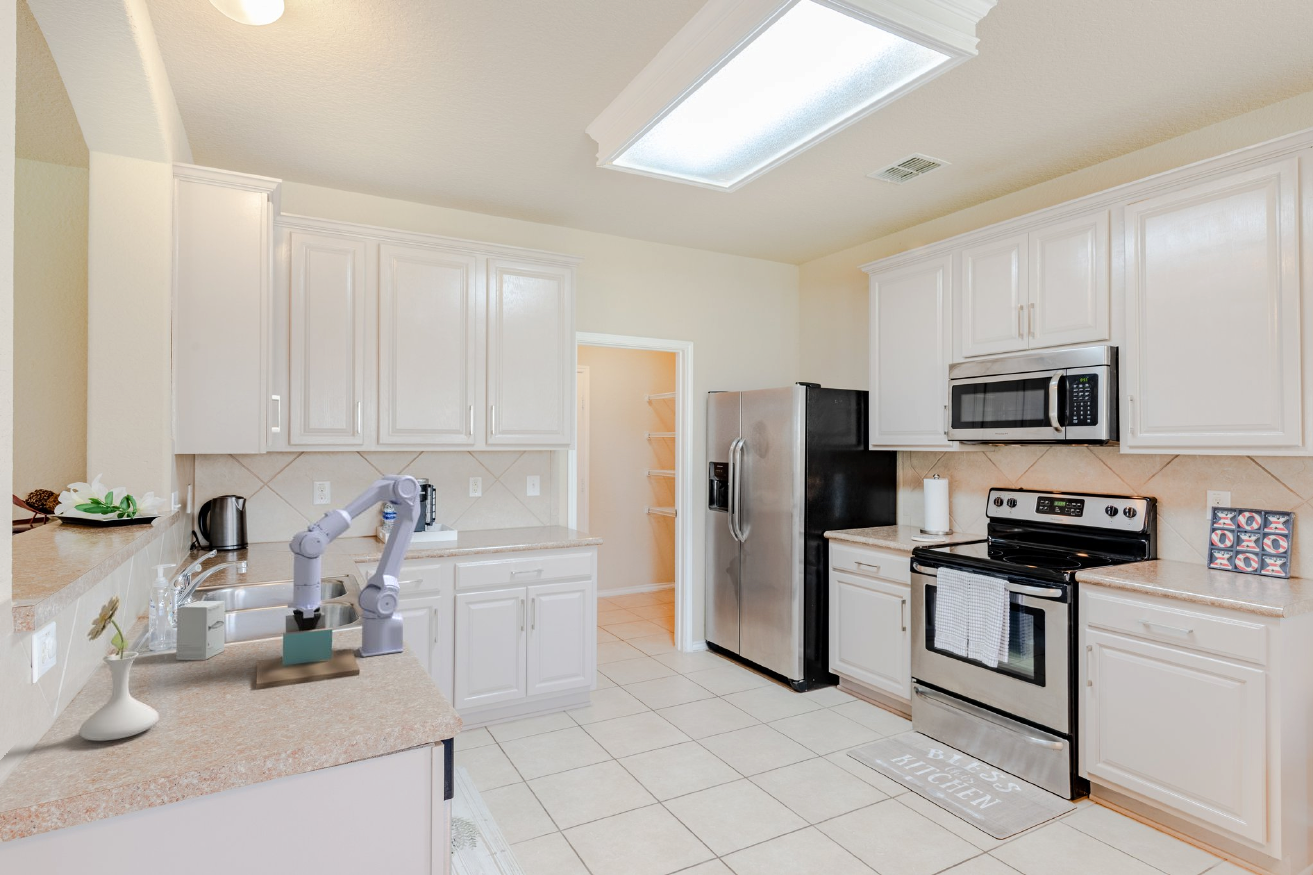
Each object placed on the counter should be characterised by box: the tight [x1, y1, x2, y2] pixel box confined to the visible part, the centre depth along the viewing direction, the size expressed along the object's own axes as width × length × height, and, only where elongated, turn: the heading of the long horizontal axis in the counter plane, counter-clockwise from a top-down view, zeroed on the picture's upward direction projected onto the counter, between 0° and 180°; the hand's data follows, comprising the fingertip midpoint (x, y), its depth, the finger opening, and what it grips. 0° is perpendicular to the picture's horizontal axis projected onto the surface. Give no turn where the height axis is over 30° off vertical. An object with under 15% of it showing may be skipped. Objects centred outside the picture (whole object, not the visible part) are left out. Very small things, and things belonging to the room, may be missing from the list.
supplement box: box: [175, 600, 226, 661], centre depth 171 cm, size 7×7×13 cm
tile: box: [282, 627, 333, 665], centre depth 160 cm, size 10×8×1 cm
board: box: [256, 648, 361, 690], centre depth 160 cm, size 20×18×1 cm
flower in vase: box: [78, 595, 160, 742], centre depth 124 cm, size 13×11×25 cm
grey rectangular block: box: [285, 611, 326, 633], centre depth 163 cm, size 8×4×9 cm, turn 119°
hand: (306, 642), depth 163 cm, fingers open, 3 cm apart
